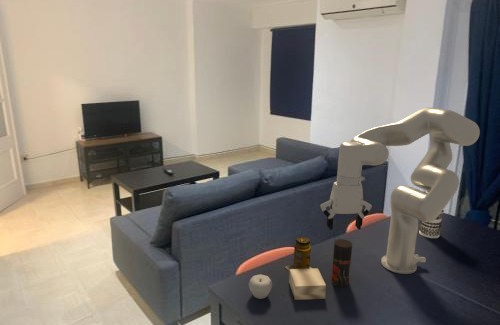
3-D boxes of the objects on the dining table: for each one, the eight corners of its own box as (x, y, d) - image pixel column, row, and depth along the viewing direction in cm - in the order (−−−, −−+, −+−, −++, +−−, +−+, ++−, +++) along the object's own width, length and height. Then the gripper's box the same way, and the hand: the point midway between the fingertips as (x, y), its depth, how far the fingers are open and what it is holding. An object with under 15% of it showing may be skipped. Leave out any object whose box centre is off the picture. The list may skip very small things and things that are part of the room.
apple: (248, 287, 121) (248, 270, 119) (271, 288, 121) (272, 271, 119) (247, 303, 113) (248, 285, 112) (272, 303, 113) (273, 285, 111)
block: (317, 280, 126) (317, 268, 124) (324, 298, 116) (326, 285, 115) (289, 281, 125) (289, 269, 123) (294, 299, 115) (295, 286, 114)
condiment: (314, 270, 132) (316, 241, 129) (297, 277, 128) (298, 247, 125) (301, 261, 138) (303, 233, 135) (284, 267, 134) (285, 238, 130)
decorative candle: (415, 228, 167) (422, 178, 161) (436, 230, 166) (444, 179, 159) (421, 237, 158) (429, 184, 152) (443, 239, 157) (452, 185, 151)
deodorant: (350, 286, 122) (354, 247, 118) (333, 286, 122) (336, 247, 118) (346, 276, 128) (349, 239, 124) (329, 276, 128) (332, 239, 124)
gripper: (369, 176, 120) (364, 223, 124) (319, 176, 118) (316, 223, 123) (379, 183, 113) (373, 232, 117) (325, 183, 111) (321, 233, 116)
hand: (343, 228), depth 120 cm, fingers open, 9 cm apart
